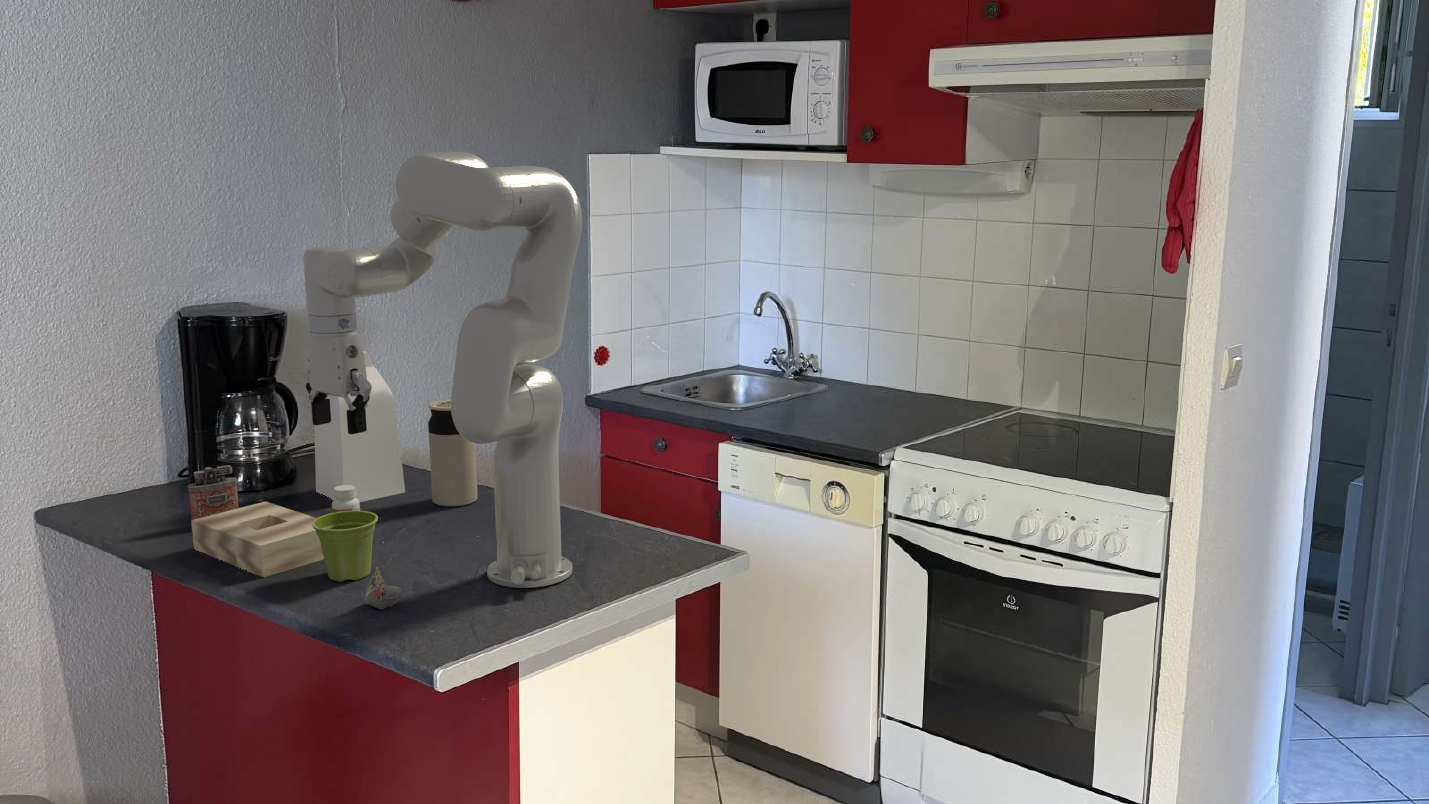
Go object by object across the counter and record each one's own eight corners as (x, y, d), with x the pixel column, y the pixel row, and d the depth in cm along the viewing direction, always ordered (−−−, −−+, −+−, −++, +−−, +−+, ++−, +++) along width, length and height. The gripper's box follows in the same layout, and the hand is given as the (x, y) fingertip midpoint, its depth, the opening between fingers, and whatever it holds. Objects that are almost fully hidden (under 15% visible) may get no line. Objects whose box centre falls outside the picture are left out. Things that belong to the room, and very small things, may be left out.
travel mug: (486, 498, 223) (482, 401, 219) (456, 510, 216) (451, 410, 213) (453, 492, 227) (448, 397, 223) (423, 503, 220) (417, 405, 216)
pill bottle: (328, 535, 203) (325, 490, 201) (342, 527, 207) (339, 483, 205) (352, 537, 202) (349, 492, 200) (366, 529, 206) (363, 484, 204)
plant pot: (349, 590, 178) (344, 533, 176) (302, 579, 183) (298, 523, 181) (394, 570, 186) (391, 515, 184) (349, 560, 191) (345, 507, 189)
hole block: (338, 554, 193) (336, 524, 192) (263, 577, 184) (260, 545, 182) (268, 530, 206) (265, 501, 205) (194, 550, 196) (191, 520, 195)
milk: (344, 505, 220) (334, 362, 214) (316, 492, 228) (305, 353, 222) (405, 492, 227) (396, 353, 222) (375, 480, 236) (366, 346, 230)
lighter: (195, 531, 205) (189, 474, 203) (188, 527, 208) (183, 469, 206) (244, 522, 210) (238, 465, 208) (237, 517, 213) (232, 461, 211)
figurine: (407, 598, 175) (398, 558, 173) (399, 610, 170) (389, 570, 169) (372, 603, 175) (362, 564, 174) (362, 616, 171) (352, 576, 169)
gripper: (385, 327, 195) (391, 432, 198) (321, 316, 205) (328, 416, 209) (344, 332, 189) (351, 441, 193) (281, 322, 200) (289, 424, 203)
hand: (339, 428), depth 201 cm, fingers open, 9 cm apart
